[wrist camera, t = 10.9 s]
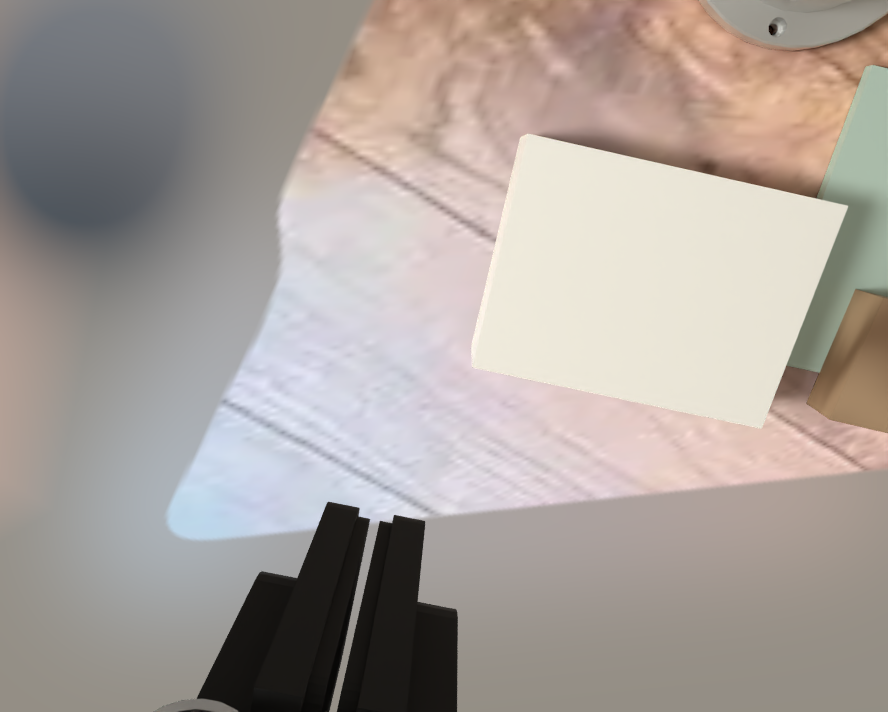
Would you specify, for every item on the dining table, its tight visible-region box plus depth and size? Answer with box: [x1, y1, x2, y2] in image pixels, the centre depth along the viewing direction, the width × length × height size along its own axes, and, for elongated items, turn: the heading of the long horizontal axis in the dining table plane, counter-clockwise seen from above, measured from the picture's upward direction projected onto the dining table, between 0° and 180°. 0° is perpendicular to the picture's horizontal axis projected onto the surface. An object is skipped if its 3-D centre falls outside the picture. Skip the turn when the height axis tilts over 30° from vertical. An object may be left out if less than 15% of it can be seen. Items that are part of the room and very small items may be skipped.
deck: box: [471, 134, 848, 429], centre depth 34 cm, size 12×16×4 cm
